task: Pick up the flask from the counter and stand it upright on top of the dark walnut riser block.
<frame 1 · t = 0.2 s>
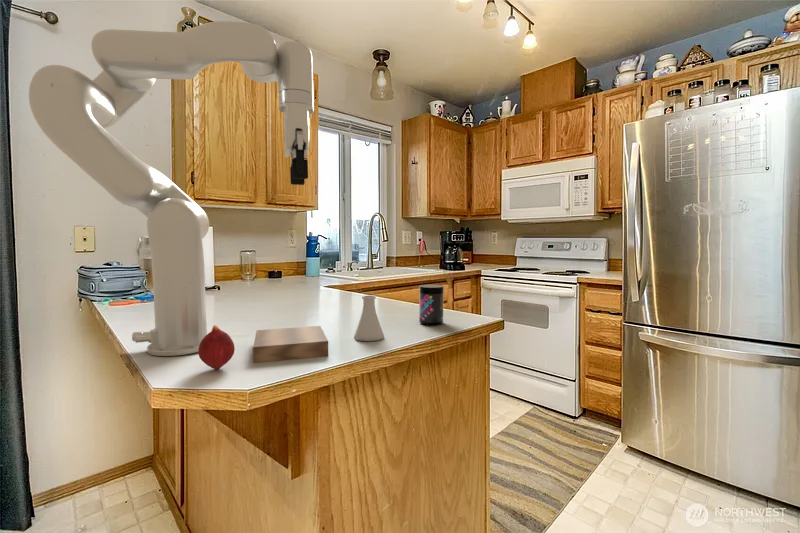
hand: (299, 181, 87), 36 cm above the table, tool pointing down, fingers open, 9 cm apart
walnut riser: (290, 349, 82), on the table
supplement container: (431, 324, 107), on the table
onion: (217, 370, 69), on the table
flask: (369, 339, 91), on the table
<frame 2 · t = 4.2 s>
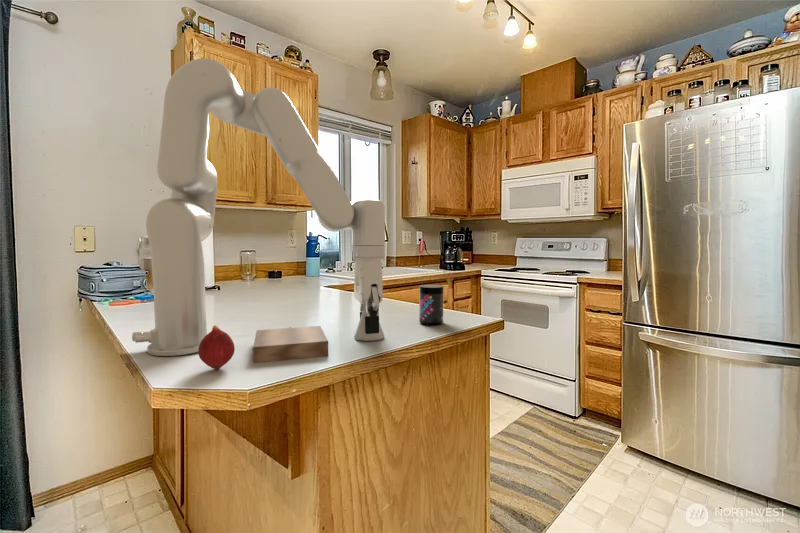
hand: (369, 329, 91), 2 cm above the table, tool pointing down, fingers closed on flask, 4 cm apart
flask: (369, 338, 91), on the table, touching gripper
everything else where it was.
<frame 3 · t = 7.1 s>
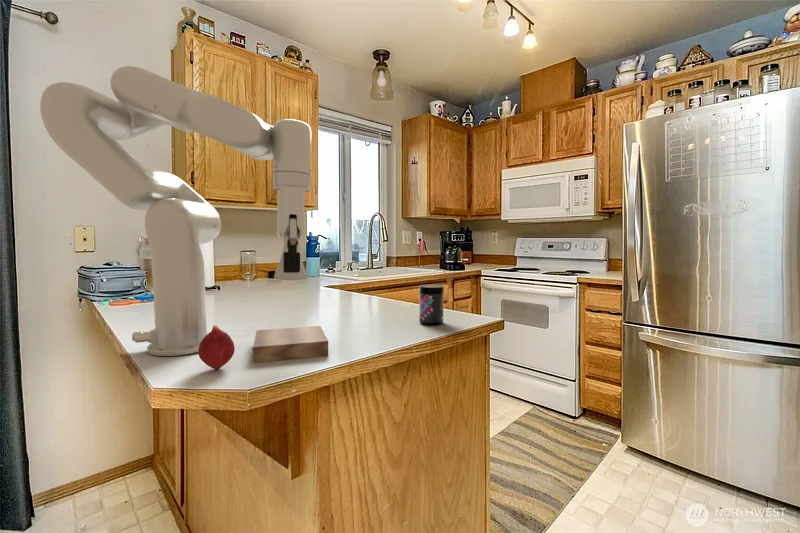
hand: (290, 270, 81), 17 cm above the table, tool pointing down, fingers closed on flask, 4 cm apart
flask: (290, 280, 81), point 15 cm above the table, touching gripper
everything else where it was.
when the fingers open (6 cm above the table, at t = 10.1 s): flask drops 1 cm, resting on walnut riser.
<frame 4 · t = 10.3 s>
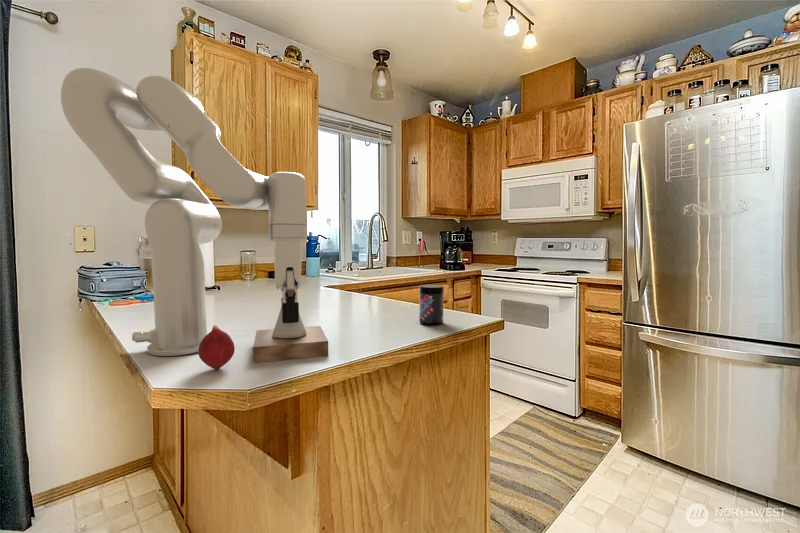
hand: (290, 318, 81), 7 cm above the table, tool pointing down, fingers open, 6 cm apart
flask: (289, 336, 82), point 3 cm above the table, touching walnut riser
everything else where it was.
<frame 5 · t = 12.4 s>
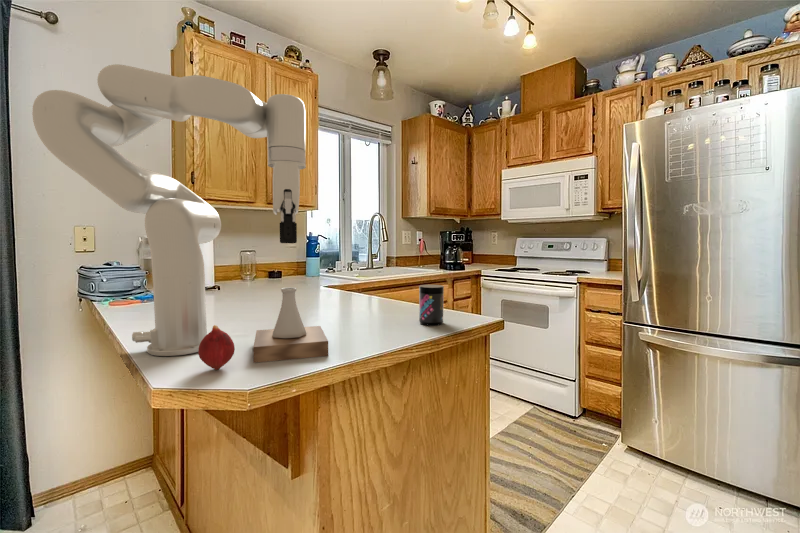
hand: (287, 242, 81), 23 cm above the table, tool pointing down, fingers open, 9 cm apart
nothing on the table moved.
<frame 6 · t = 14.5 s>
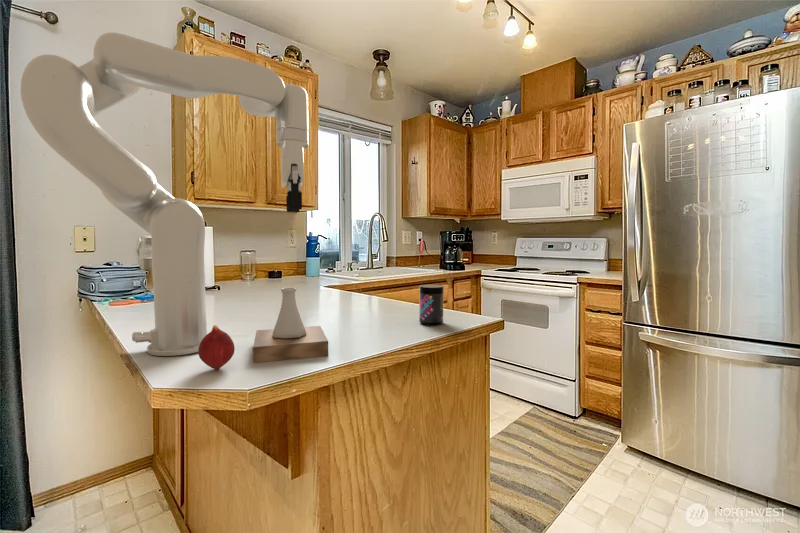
hand: (294, 210, 95), 30 cm above the table, tool pointing down, fingers open, 9 cm apart
nothing on the table moved.
at the end: flask inside the target area on the walnut riser (0.2 cm from its centre), point 2.8 cm above the walnut riser's base; flask tilted 0°; the gripper is holding nothing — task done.
